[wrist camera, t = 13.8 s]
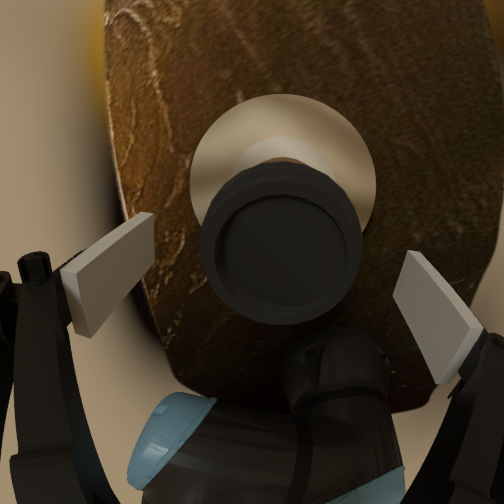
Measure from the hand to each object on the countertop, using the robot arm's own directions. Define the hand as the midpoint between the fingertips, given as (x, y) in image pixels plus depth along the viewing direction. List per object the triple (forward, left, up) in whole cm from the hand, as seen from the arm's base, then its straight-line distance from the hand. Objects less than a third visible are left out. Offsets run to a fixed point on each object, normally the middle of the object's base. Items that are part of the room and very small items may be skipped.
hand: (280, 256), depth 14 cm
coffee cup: (0, 0, -14) cm, 14 cm away
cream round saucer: (0, 0, -16) cm, 16 cm away
